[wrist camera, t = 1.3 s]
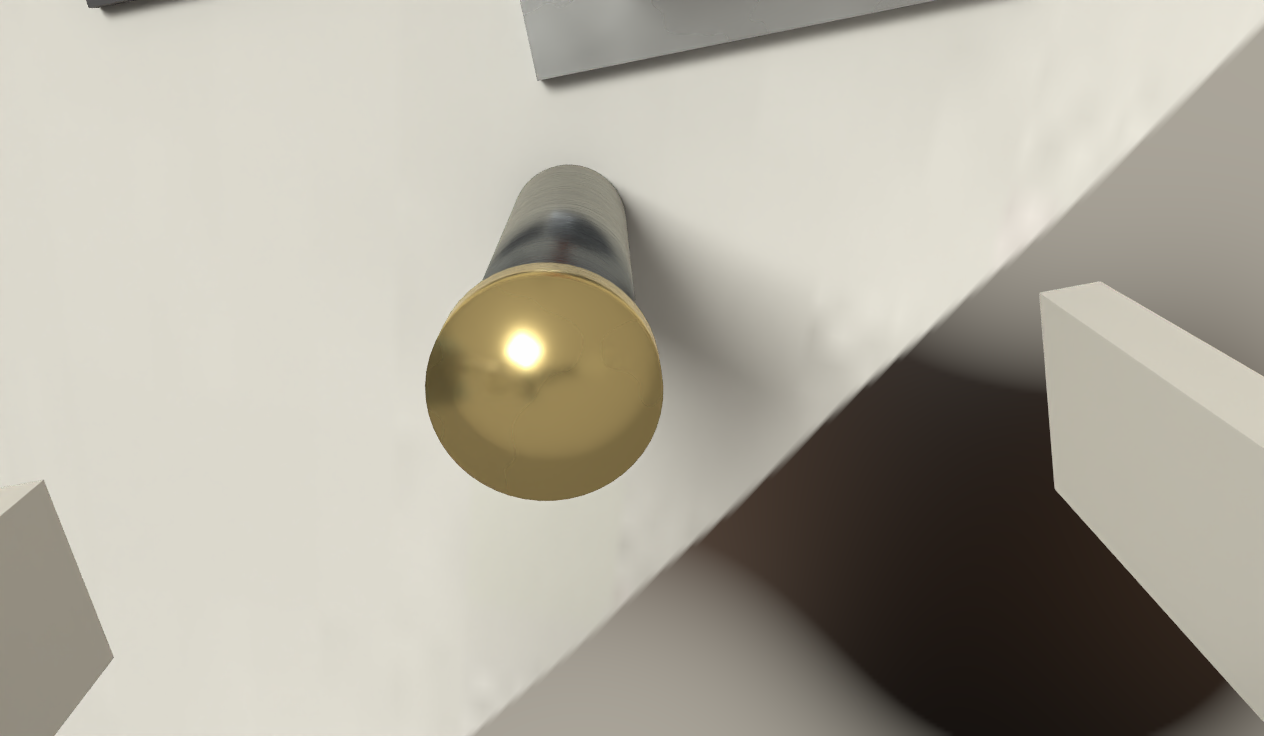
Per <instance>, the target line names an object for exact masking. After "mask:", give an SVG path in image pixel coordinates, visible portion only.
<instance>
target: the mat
mask: <svg viewBox="0 0 1264 736" xmlns="http://www.w3.org/2000/svg"><path fill="white" fill-rule="evenodd" d="M86 1H87V4H88V7H89V8H100V7H105V6H109V5H114V4H119V3H124V2H129V1H133V0H86Z"/></svg>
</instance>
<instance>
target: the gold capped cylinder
mask: <svg viewBox="0 0 1264 736" xmlns="http://www.w3.org/2000/svg"><path fill="white" fill-rule="evenodd" d="M425 391H426V403H427V408H428V413H429V417H430V420H431V422H432V425H433V428H434V430H435V432H436V434H437V436H438V438H439V440H440V442H441V444H442V445H443V447H444V448H445V450H446V451H447V453H448V454H449V455H450V456H451V457H452V459H453V460H454V461H455V462H456V463H457V464H458V465H459V466H460V467H461V468H462V469H463V470H464V471H466V472H467V473H468V474H469V475H470V476H472V477H473V478H475V479H476V480H478V481H479V482H481V483H482V484H484V485H486V486H488V487H490V488H492V489H494V490H496V491H499V492H501V493H504V494H507V495H510V496H514V497H518V498H522V499H529V500H538V501H555V500H563V499H570V498H574V497H578V496H582V495H585V494H588V493H590V492H593V491H596V490H598V489H600V488H602V487H604V486H606V485H607V484H609V483H611V482H612V481H614V480H615V479H617V478H618V477H619V476H621V475H622V474H623V473H625V472H626V471H627V470H628V469H629V468H630V467H631V466H632V465H633V464H634V463H635V462H636V461H637V459H638V458H639V457H640V456H641V455H642V453H643V452H644V450H645V449H646V447H647V446H648V444H649V442H650V441H651V439H652V436H653V434H654V432H655V430H656V428H657V424H658V421H659V418H660V414H661V408H662V402H663V380H662V372H661V366H660V359H659V353H658V349H657V345H656V341H655V338H654V335H653V333H652V330H651V328H650V326H649V324H648V322H647V320H646V319H645V317H644V315H643V313H642V312H641V311H640V309H639V308H638V307H637V306H636V304H635V296H634V287H633V278H632V269H631V260H630V250H629V241H628V232H627V223H626V215H625V209H624V205H623V202H622V200H621V197H620V195H619V194H618V192H617V190H616V189H615V188H614V186H613V185H612V184H611V183H610V182H609V181H608V180H607V179H606V178H605V177H603V176H602V175H601V174H599V173H597V172H596V171H594V170H591V169H589V168H586V167H583V166H578V165H560V166H555V167H551V168H549V169H546V170H544V171H542V172H540V173H539V174H537V175H536V176H534V177H533V178H532V179H531V180H530V181H529V182H528V183H527V184H526V185H525V186H524V188H523V189H522V191H521V192H520V194H519V196H518V198H517V200H516V203H515V205H514V207H513V210H512V212H511V215H510V217H509V219H508V222H507V224H506V226H505V229H504V231H503V233H502V236H501V238H500V240H499V243H498V245H497V247H496V250H495V252H494V255H493V257H492V259H491V262H490V264H489V266H488V269H487V271H486V273H485V276H484V278H483V280H482V281H481V282H480V283H479V284H477V285H476V286H475V287H473V288H472V289H471V290H470V291H469V292H468V293H467V294H466V295H465V296H464V297H463V298H462V299H461V300H460V301H459V302H458V303H457V305H456V306H455V307H454V309H453V310H452V311H451V313H450V314H449V316H448V318H447V320H446V322H445V323H444V325H443V327H442V329H441V331H440V334H439V336H438V338H437V340H436V342H435V344H434V347H433V349H432V352H431V355H430V358H429V362H428V366H427V371H426V382H425Z"/></svg>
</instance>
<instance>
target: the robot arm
mask: <svg viewBox="0 0 1264 736" xmlns="http://www.w3.org/2000/svg"><path fill="white" fill-rule="evenodd" d="M1039 296H1040V308H1041V321H1042V334H1043V346H1044V357H1045V358H1044V359H1045V372H1046V384H1047V396H1048V410H1049V422H1050V434H1051V446H1052V460H1053V473H1054V485H1055V490H1057V492H1058V493H1059V494H1060V495H1061V496H1062V497H1063V498H1064V500H1065V501H1066V502H1067V503H1068V504H1069V505H1070V506H1071V508H1072V509H1073V510H1074V511H1075V512H1076V513H1077V514H1078V515H1079V516H1080V518H1081V519H1082V520H1083V521H1084V522H1085V523H1086V524H1087V525H1088V527H1089V528H1090V529H1091V530H1092V531H1093V532H1094V533H1095V534H1096V535H1097V537H1098V538H1099V539H1100V540H1101V541H1102V542H1103V543H1104V544H1105V545H1106V547H1107V548H1108V549H1109V550H1110V551H1111V552H1112V553H1113V554H1114V555H1115V556H1116V558H1117V559H1118V560H1119V561H1120V562H1121V563H1122V564H1123V565H1124V567H1125V568H1126V569H1127V570H1128V571H1129V572H1130V573H1131V574H1132V576H1133V577H1134V578H1135V579H1136V580H1137V581H1138V582H1139V583H1140V585H1141V586H1142V587H1143V588H1144V589H1145V590H1146V591H1147V592H1148V593H1149V594H1150V596H1151V597H1152V598H1153V599H1154V600H1155V601H1156V602H1157V603H1158V605H1159V606H1160V607H1161V608H1162V609H1163V610H1164V611H1165V612H1166V613H1167V615H1168V616H1169V617H1170V618H1171V619H1172V620H1173V621H1174V622H1175V624H1176V625H1178V627H1179V628H1180V629H1181V630H1182V631H1183V632H1184V633H1185V635H1186V636H1187V637H1188V638H1189V639H1190V640H1191V641H1192V642H1193V644H1194V645H1195V646H1196V647H1197V648H1198V649H1199V650H1200V652H1201V653H1202V654H1203V655H1204V656H1205V657H1206V658H1207V659H1208V660H1209V662H1210V663H1212V665H1213V666H1214V667H1215V668H1216V669H1217V670H1218V672H1219V673H1220V674H1221V675H1222V676H1223V677H1224V678H1225V679H1226V681H1227V682H1228V683H1229V684H1230V685H1231V686H1232V687H1233V688H1234V689H1235V691H1236V692H1237V693H1238V694H1239V695H1240V696H1241V697H1242V698H1243V699H1244V701H1245V702H1246V703H1247V704H1248V705H1249V706H1250V707H1251V708H1252V710H1253V711H1254V712H1255V713H1256V714H1257V715H1258V716H1259V717H1260V718H1261V720H1262V721H1263V722H1264V376H1262V375H1260V374H1258V373H1257V372H1255V371H1253V370H1252V369H1250V368H1248V367H1246V366H1245V365H1243V364H1241V363H1240V362H1238V361H1236V360H1234V359H1232V358H1231V357H1229V356H1228V355H1226V354H1224V353H1222V352H1221V351H1219V350H1217V349H1216V348H1214V347H1212V346H1210V345H1209V344H1207V343H1205V342H1203V341H1202V340H1200V339H1198V338H1197V337H1195V336H1193V335H1191V334H1190V333H1188V332H1186V331H1185V330H1183V329H1181V328H1179V327H1178V326H1176V325H1174V324H1173V323H1171V322H1169V321H1167V320H1166V319H1164V318H1162V317H1161V316H1159V315H1157V314H1155V313H1154V312H1152V311H1150V310H1149V309H1147V308H1145V307H1143V306H1142V305H1140V304H1138V303H1137V302H1135V301H1133V300H1131V299H1130V298H1128V297H1126V296H1124V295H1123V294H1121V293H1119V292H1118V291H1116V290H1114V289H1112V288H1111V287H1109V286H1107V285H1106V284H1104V283H1102V282H1100V281H1099V282H1094V283H1089V284H1083V285H1078V286H1072V287H1067V288H1062V289H1056V290H1051V291H1046V292H1041V293H1039ZM113 658H114V657H113V654H112V652H111V649H110V647H109V644H108V642H107V639H106V636H105V634H104V631H103V629H102V626H101V624H100V621H99V619H98V616H97V614H96V611H95V609H94V606H93V604H92V601H91V599H90V596H89V594H88V591H87V588H86V586H85V583H84V581H83V578H82V576H81V573H80V571H79V568H78V566H77V563H76V561H75V558H74V556H73V553H72V551H71V548H70V545H69V543H68V540H67V538H66V535H65V533H64V530H63V528H62V525H61V523H60V520H59V518H58V515H57V513H56V510H55V508H54V505H53V503H52V500H51V497H50V495H49V492H48V490H47V487H46V485H45V482H44V480H40V481H35V482H29V483H24V484H19V485H13V486H8V487H3V488H0V736H54V735H55V734H56V733H57V731H58V730H59V729H60V727H61V726H62V725H63V724H64V722H65V721H66V720H67V718H68V717H69V716H70V714H71V713H72V712H73V710H74V709H75V708H76V706H77V705H78V704H79V703H80V701H81V700H82V699H83V697H84V696H85V695H86V693H87V692H88V691H89V689H90V688H91V687H92V686H93V684H94V683H95V682H96V680H97V679H98V678H99V676H100V675H101V674H102V672H103V671H104V670H105V669H106V667H107V666H108V665H109V663H110V662H111V661H112V659H113Z"/></svg>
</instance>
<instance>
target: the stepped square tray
mask: <svg viewBox="0 0 1264 736" xmlns="http://www.w3.org/2000/svg"><path fill="white" fill-rule="evenodd" d="M930 1H935V0H520V2H521V7H522V11H523V16H524V21H525V25H526V30H527V35H528V39H529V44H530V49H531V53H532V58H533V63H534V67H535V72H536V77H537V81H539V80H544V79H549V78H553V77H558V76H563V75H568V74H573V73H578V72H583V71H588V70H593V69H598V68H603V67H608V66H613V65H618V64H623V63H628V62H633V61H638V60H643V59H648V58H653V57H657V56H662V55H667V54H672V53H677V52H682V51H687V50H692V49H697V48H702V47H707V46H712V45H717V44H722V43H727V42H732V41H737V40H742V39H747V38H752V37H756V36H761V35H766V34H771V33H776V32H781V31H786V30H791V29H796V28H801V27H806V26H811V25H816V24H821V23H826V22H831V21H836V20H841V19H846V18H851V17H856V16H860V15H865V14H870V13H875V12H880V11H885V10H890V9H895V8H900V7H905V6H910V5H915V4H920V3H925V2H930Z"/></svg>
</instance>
